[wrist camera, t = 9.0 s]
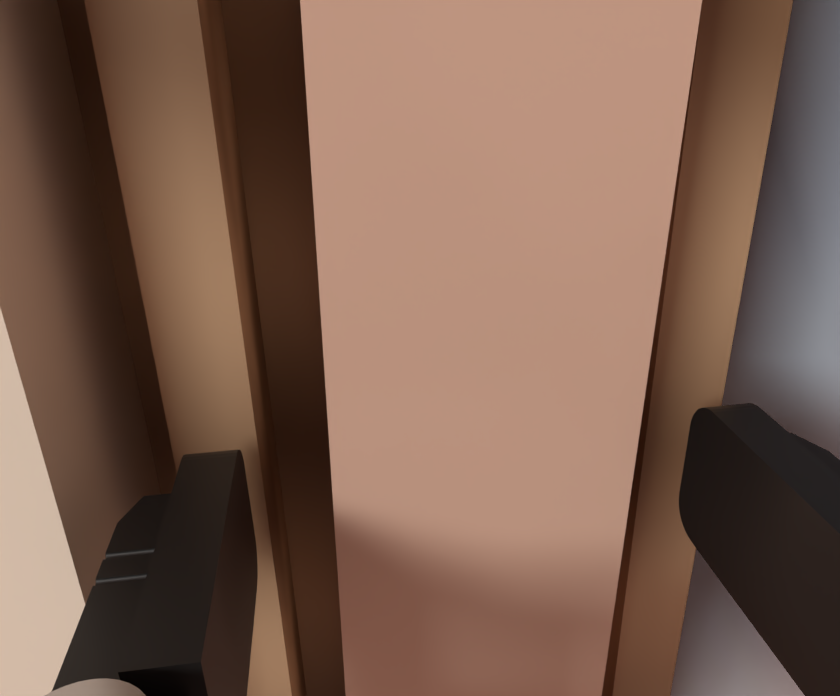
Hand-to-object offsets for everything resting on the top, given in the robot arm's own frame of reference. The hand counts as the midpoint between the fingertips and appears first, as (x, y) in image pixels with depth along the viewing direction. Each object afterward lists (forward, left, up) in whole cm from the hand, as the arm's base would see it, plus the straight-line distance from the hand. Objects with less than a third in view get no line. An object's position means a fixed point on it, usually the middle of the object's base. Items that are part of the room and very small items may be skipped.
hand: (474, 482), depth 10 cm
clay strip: (0, 0, -3) cm, 3 cm away
